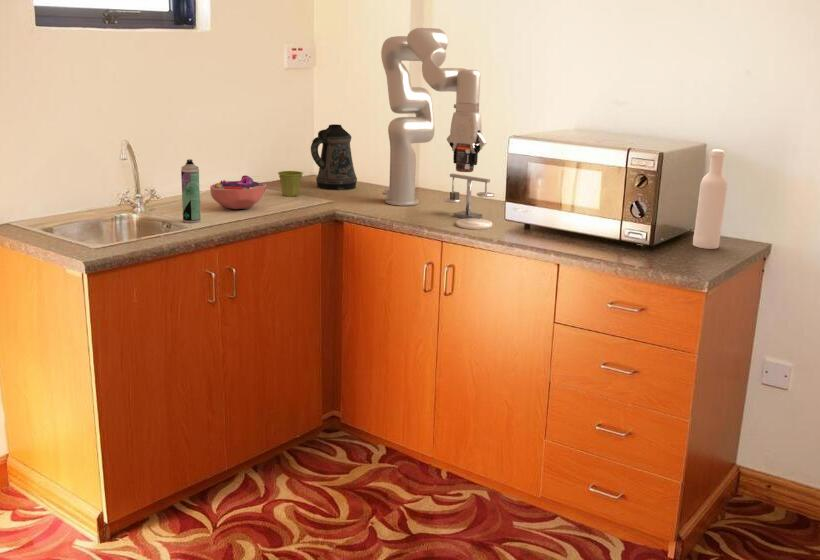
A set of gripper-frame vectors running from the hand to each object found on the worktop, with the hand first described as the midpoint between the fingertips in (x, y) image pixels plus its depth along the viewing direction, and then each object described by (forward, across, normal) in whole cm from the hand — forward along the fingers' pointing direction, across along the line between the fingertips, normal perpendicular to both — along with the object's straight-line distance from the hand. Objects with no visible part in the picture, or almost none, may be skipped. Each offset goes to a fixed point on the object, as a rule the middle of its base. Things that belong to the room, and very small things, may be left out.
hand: (465, 163), depth 285 cm
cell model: (+20, -68, -40) cm, 82 cm away
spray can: (+20, -61, -65) cm, 91 cm away
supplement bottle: (+3, 0, 0) cm, 3 cm away
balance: (+20, -6, +11) cm, 24 cm away
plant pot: (+19, -76, -9) cm, 79 cm away
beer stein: (+19, -78, +16) cm, 82 cm away
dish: (+20, +4, +1) cm, 21 cm away
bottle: (+22, +71, +33) cm, 81 cm away
